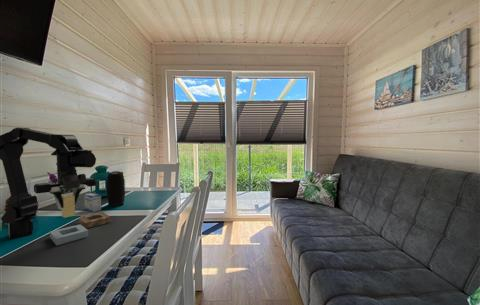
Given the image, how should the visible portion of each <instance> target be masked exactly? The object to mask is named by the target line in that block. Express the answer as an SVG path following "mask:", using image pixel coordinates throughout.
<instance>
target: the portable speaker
mask: <svg viewBox="0 0 480 305" xmlns="http://www.w3.org/2000/svg"><path fill="white" fill-rule="evenodd" d="M106 176H107V177H106V178H107V179H106V197H107V204H108V205H109V206H110V207H112V208H116V207H119V206H120V205H124V203H125V196H126V181H125V176H124V172H123V171H119V170H118V171H116V170H115V171H114V170H113V171H111V172H107V175H106Z"/></svg>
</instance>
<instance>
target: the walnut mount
mask: <svg viewBox="0 0 480 305" xmlns="http://www.w3.org/2000/svg"><path fill="white" fill-rule="evenodd" d="M109 223H112V217H111V216H110V215H108V214H106V213H105V212H98V213H94V214H90V215H85V216H80V217H78V225H79V224H81V225H82V226H83V227H85V228H86V229H89V228H93V227H97V226H100V225H101V226H102V225H105V224H109Z"/></svg>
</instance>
